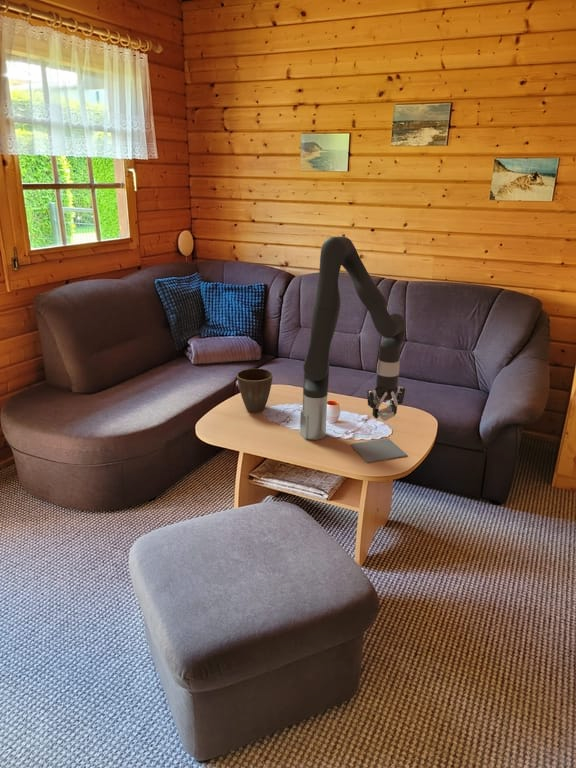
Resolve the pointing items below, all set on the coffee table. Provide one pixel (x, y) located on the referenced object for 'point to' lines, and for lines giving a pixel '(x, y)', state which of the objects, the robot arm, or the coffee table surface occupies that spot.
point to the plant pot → (255, 388)
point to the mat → (378, 450)
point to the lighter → (386, 412)
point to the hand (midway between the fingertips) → (384, 416)
